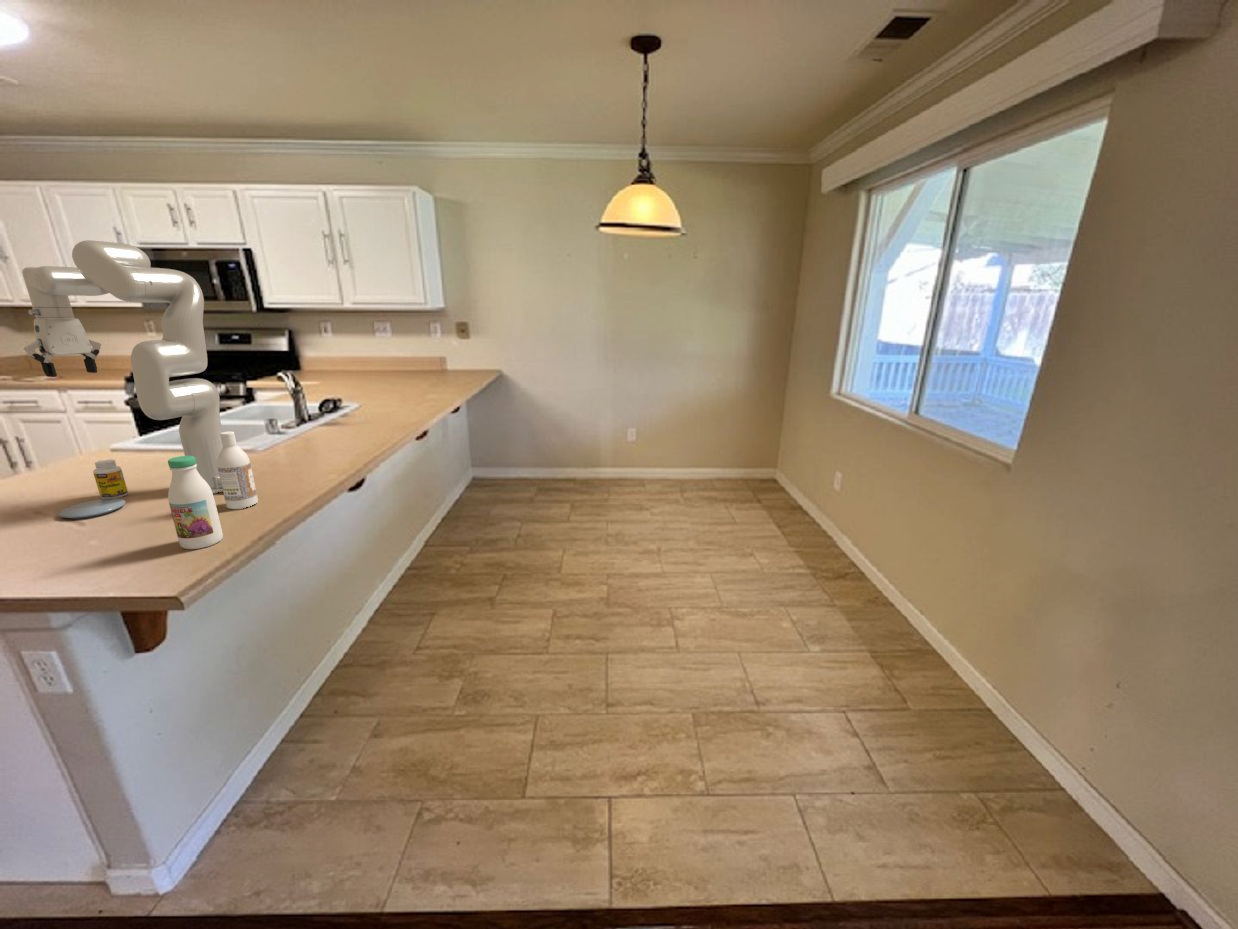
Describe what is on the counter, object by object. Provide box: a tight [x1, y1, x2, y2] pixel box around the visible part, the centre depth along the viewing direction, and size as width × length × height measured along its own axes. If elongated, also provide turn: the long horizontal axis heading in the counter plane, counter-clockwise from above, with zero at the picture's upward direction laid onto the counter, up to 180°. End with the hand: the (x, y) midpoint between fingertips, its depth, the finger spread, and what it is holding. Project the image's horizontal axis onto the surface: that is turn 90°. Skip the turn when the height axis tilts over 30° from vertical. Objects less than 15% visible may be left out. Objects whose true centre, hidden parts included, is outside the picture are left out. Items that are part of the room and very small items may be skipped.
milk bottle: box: [167, 455, 224, 550], centre depth 113 cm, size 8×8×20 cm
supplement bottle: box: [92, 458, 129, 499], centre depth 141 cm, size 6×6×10 cm
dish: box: [58, 498, 126, 520], centre depth 132 cm, size 12×12×1 cm
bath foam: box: [217, 430, 259, 510], centre depth 135 cm, size 7×7×20 cm
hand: (72, 374), depth 151 cm, fingers open, 9 cm apart
